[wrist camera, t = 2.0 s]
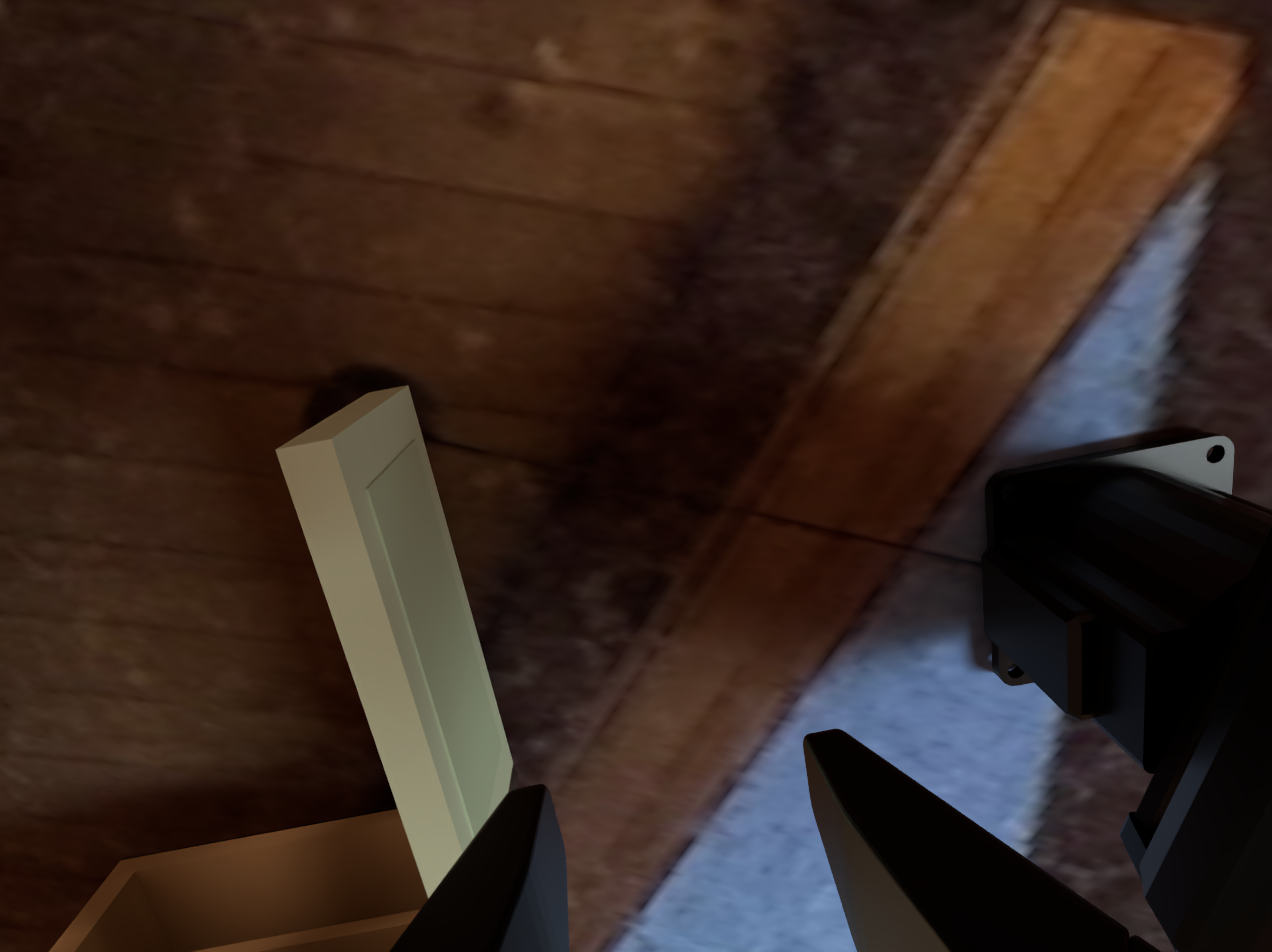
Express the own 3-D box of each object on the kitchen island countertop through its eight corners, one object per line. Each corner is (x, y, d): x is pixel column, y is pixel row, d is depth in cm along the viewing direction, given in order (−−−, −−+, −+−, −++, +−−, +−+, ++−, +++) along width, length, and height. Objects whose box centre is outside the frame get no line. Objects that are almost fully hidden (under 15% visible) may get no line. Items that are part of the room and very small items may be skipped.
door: (523, 788, 22) (498, 964, 16) (487, 794, 22) (451, 972, 16) (411, 383, 18) (332, 439, 13) (369, 392, 18) (272, 451, 13)
